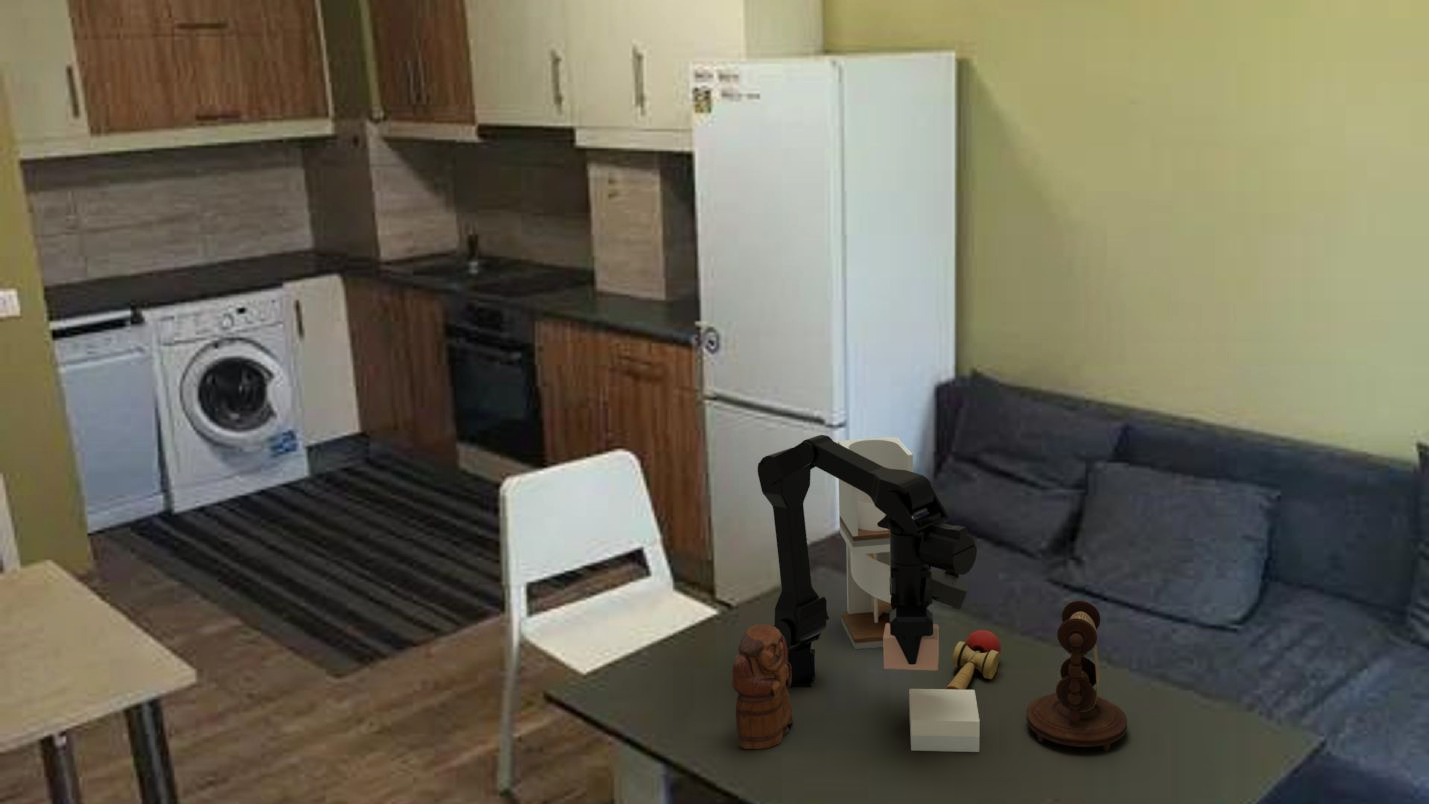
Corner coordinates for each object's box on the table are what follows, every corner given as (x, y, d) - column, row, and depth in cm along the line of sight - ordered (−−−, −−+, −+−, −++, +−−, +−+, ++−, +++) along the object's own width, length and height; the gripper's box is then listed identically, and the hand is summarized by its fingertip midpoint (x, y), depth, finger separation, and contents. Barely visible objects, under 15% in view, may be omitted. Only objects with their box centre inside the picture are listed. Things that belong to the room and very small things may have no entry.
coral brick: (884, 668, 194) (883, 638, 193) (886, 653, 200) (885, 623, 198) (937, 670, 193) (937, 639, 192) (939, 654, 198) (938, 624, 197)
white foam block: (911, 750, 192) (911, 720, 191) (909, 717, 202) (909, 688, 201) (979, 752, 191) (979, 721, 190) (974, 719, 201) (974, 689, 199)
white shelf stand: (841, 622, 237) (837, 440, 229) (897, 618, 238) (896, 436, 230) (854, 649, 226) (851, 459, 218) (913, 644, 227) (913, 454, 219)
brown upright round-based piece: (1123, 762, 187) (1129, 635, 182) (1020, 748, 192) (1022, 624, 187) (1129, 714, 200) (1134, 595, 195) (1032, 702, 205) (1034, 585, 200)
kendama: (982, 714, 205) (1014, 654, 219) (973, 680, 203) (1006, 621, 218) (936, 712, 209) (971, 653, 223) (928, 678, 207) (963, 621, 222)
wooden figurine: (770, 756, 192) (766, 645, 188) (731, 748, 195) (726, 639, 191) (800, 720, 203) (797, 614, 198) (763, 713, 205) (759, 608, 201)
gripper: (968, 581, 182) (969, 683, 186) (960, 537, 200) (962, 630, 204) (888, 582, 184) (891, 683, 187) (888, 538, 202) (891, 630, 205)
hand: (911, 655), depth 196 cm, fingers closed on coral brick, 6 cm apart
